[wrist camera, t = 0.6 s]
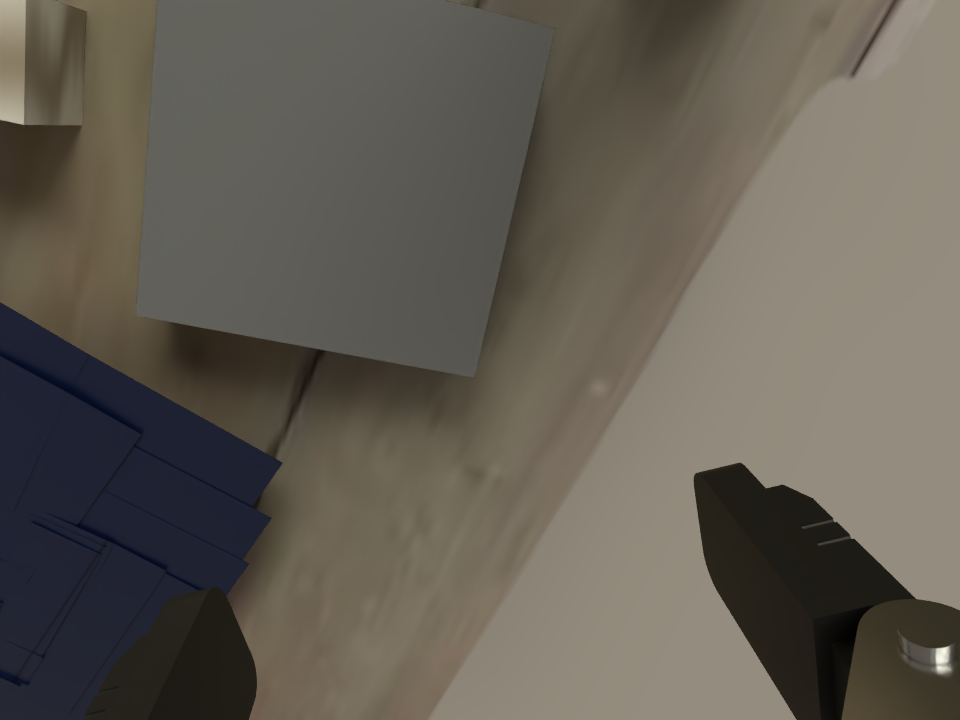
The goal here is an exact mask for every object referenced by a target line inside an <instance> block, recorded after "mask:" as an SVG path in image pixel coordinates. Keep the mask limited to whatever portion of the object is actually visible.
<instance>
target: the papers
mask: <svg viewBox="0 0 960 720" xmlns="http://www.w3.org/2000/svg"><path fill="white" fill-rule="evenodd" d="M281 465H282V462H280V461H278V460H277V459H275V458H273V457H271V456H270V455H268V454H266V453H264V452H262V451H261V450H259V449H257V448H255V447H253V446H252V445H250V444H248V443H246V442H244V441H243V440H241V439H239V438H237V437H235V436H234V435H232V434H230V433H228V432H227V431H225V430H223V429H221V428H219V427H218V426H216V425H214V424H212V423H210V422H209V421H207V420H205V419H203V418H201V417H200V416H198V415H196V414H194V413H193V412H191V411H189V410H187V409H185V408H184V407H182V406H180V405H178V404H176V403H175V402H173V401H171V400H169V399H167V398H166V397H164V396H162V395H160V394H159V393H157V392H155V391H153V390H151V389H150V388H148V387H146V386H144V385H142V384H141V383H139V382H137V381H135V380H133V379H132V378H130V377H128V376H126V375H125V374H123V373H121V372H119V371H117V370H116V369H114V368H112V367H110V366H108V365H107V364H105V363H103V362H101V361H99V360H98V359H96V358H94V357H92V356H91V355H89V354H87V353H85V352H84V351H82V350H80V349H79V348H77V347H75V346H74V345H72V344H70V343H68V342H67V341H65V340H63V339H62V338H60V337H58V336H57V335H55V334H53V333H51V332H50V331H48V330H46V329H45V328H43V327H41V326H40V325H38V324H36V323H34V322H33V321H31V320H29V319H28V318H26V317H24V316H23V315H21V314H19V313H18V312H16V311H14V310H12V309H11V308H9V307H7V306H6V305H4V304H2V303H1V302H0V720H84V719H85V715H84V714H85V712H86V711H87V709H88V707H89V705H90V704H91V702H92V700H93V699H94V697H95V696H98V694H99V693H98V690H99V688H100V687H101V685H102V683H103V682H104V680H105V678H106V677H107V675H108V673H109V671H110V670H111V668H112V666H113V665H114V663H115V662H116V661H117V660H118V659H119V658H120V657H121V656H122V655H123V654H124V653H125V652H126V651H127V650H128V649H129V648H130V647H131V646H132V645H133V644H134V643H135V642H136V641H137V640H138V639H139V638H140V637H141V636H144V635H148V633H149V631H150V629H151V628H152V626H153V624H154V622H155V620H156V619H157V617H158V615H159V613H160V611H161V610H162V608H163V606H164V604H165V603H166V601H167V600H168V599H169V598H171V597H174V596H178V595H183V594H187V593H191V592H195V591H199V590H204V589H208V588H212V587H218V588H220V589H221V590H222V591H223V592H224V593H225V595H227V594H228V593H229V591H230V590H231V588H232V587H233V586H234V584H235V583H236V581H237V580H238V579H239V577H240V576H241V574H242V573H243V572H244V570H245V569H246V567H247V566H248V564H249V563H247V562H245V561H243V558H244V557H245V556H246V554H247V553H248V551H249V550H250V548H251V547H252V545H253V544H254V543H255V541H256V540H257V538H258V537H259V535H260V534H261V532H262V531H263V530H264V528H265V527H266V525H267V524H268V522H269V521H270V520H271V517H269V516H267V515H265V514H263V513H261V512H259V511H257V510H255V509H253V508H251V507H252V506H253V505H254V503H255V502H256V500H257V499H258V498H259V496H260V495H261V493H262V492H263V490H264V489H265V488H266V486H267V485H268V483H269V482H270V480H271V479H272V478H273V476H274V475H275V473H276V472H277V470H278V469H279V468H280V466H281Z"/></svg>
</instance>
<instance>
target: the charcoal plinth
mask: <svg viewBox="0 0 960 720" xmlns="http://www.w3.org/2000/svg"><path fill="white" fill-rule="evenodd" d="M555 29H556V28H552V27H548V26H544V25H540V24H536V23H532V22H529V21H525V20H521V19H517V18H513V17H509V16H505V15H502V14H498V13H494V12H490V11H486V10H482V9H478V8H475V7H471V6H467V5H463V4H459V3H455V2H451V1H448V0H157V15H156V29H155V44H154V58H153V73H152V88H151V102H150V117H149V131H148V146H147V160H146V175H145V189H144V204H143V218H142V233H141V248H140V262H139V277H138V291H137V306H136V316H141V317H146V318H152V319H157V320H162V321H168V322H173V323H179V324H184V325H190V326H195V327H200V328H206V329H211V330H217V331H222V332H228V333H233V334H239V335H244V336H249V337H255V338H260V339H266V340H271V341H277V342H282V343H287V344H293V345H298V346H304V347H309V348H315V349H320V350H326V351H331V352H336V353H342V354H347V355H353V356H358V357H364V358H369V359H374V360H380V361H385V362H391V363H396V364H402V365H407V366H413V367H418V368H423V369H429V370H434V371H440V372H445V373H451V374H456V375H461V376H467V377H472V378H475V374H476V370H477V365H478V361H479V357H480V352H481V348H482V344H483V340H484V335H485V331H486V327H487V322H488V318H489V314H490V309H491V305H492V301H493V296H494V292H495V288H496V284H497V279H498V275H499V271H500V266H501V262H502V258H503V253H504V249H505V245H506V240H507V236H508V232H509V227H510V223H511V219H512V215H513V210H514V206H515V202H516V197H517V193H518V189H519V184H520V180H521V176H522V171H523V167H524V163H525V158H526V154H527V150H528V146H529V141H530V137H531V133H532V128H533V124H534V120H535V115H536V111H537V107H538V102H539V98H540V94H541V89H542V85H543V81H544V77H545V72H546V68H547V64H548V59H549V55H550V51H551V46H552V42H553V38H554V33H555Z"/></svg>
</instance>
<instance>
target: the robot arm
mask: <svg viewBox="0 0 960 720" xmlns="http://www.w3.org/2000/svg"><path fill="white" fill-rule="evenodd" d="M694 489H695V496H696V503H697V510H698V518H699V525H700V532H701V539H702V546H703V553H704V557H705V561H706V565H707V568H708V571H709V574H710V576H711V579H712V581H713V584H714V586H715V588H716V590H717V591H718V593H719V595H720V596H721V598H722V600H723V601H724V603H725V605H726V606H727V608H728V609H729V611H730V613H731V614H732V616H733V617H734V619H735V621H736V622H737V624H738V626H739V627H740V628H741V630H742V632H743V633H744V635H745V637H746V638H747V640H748V642H749V643H750V645H751V646H752V648H753V650H754V651H755V653H756V655H757V656H758V658H759V660H760V661H761V663H762V664H763V666H764V668H765V669H766V671H767V673H768V674H769V676H770V677H771V679H772V681H773V682H774V684H775V685H776V687H777V689H778V690H779V692H780V694H781V695H782V697H783V698H784V700H785V702H786V703H787V705H788V707H789V708H790V710H791V711H792V713H793V715H794V716H795V718H796V719H797V720H960V610H957V609H955V608H953V607H950V606H947V605H944V604H940V603H936V602H931V601H925V600H918V599H915V597H913V596H912V595H911V594H910V593H909V592H908V591H907V590H906V589H905V588H904V587H903V586H902V585H901V584H900V583H899V582H898V581H897V580H896V579H895V578H894V577H893V576H892V575H891V574H890V573H889V572H888V571H887V570H886V569H885V568H884V567H883V566H882V565H881V564H880V563H879V562H877V561H876V560H875V559H874V558H873V557H872V556H871V555H870V554H869V553H868V552H867V551H866V550H865V549H864V548H863V547H862V546H861V545H860V544H859V543H858V542H857V541H856V540H855V539H851V537H850V535H849V533H848V532H847V531H846V530H844V528H842V526H840V524H838V523H837V522H834V521H833V518H832V517H831V516H830V515H829V514H828V513H827V512H826V511H825V510H824V509H823V508H822V507H821V506H820V505H819V504H818V503H817V502H816V501H815V500H814V499H813V498H811V497H809V496H806V495H804V494H801V493H800V492H798V491H796V490H793V489H791V488H789V487H787V486H785V485H780V486H775V487H771V488H765V487H764V486H763V485H762V484H761V483H760V482H759V481H758V480H757V478H756V477H755V476H754V475H753V474H752V473H751V472H750V471H749V470H748V469H747V468H746V466H744V465H743V464H742V463H736V464H733V465H728V466H724V467H720V468H715V469H712V470H707V471H703V472H699V473H696V474H695V475H694ZM256 689H257V676H256V668H255V664H254V660H253V657H252V655H251V652H250V650H249V648H248V645H247V643H246V641H245V638H244V636H243V634H242V631H241V629H240V627H239V625H238V622H237V620H236V618H235V615H234V613H233V611H232V608H231V606H230V604H229V601H228V599H227V597H226V595H225V593H224V592H223V591H222V590H221V589H220V588H218V587H212V588H208V589H204V590H199V591H195V592H191V593H187V594H183V595H178V596H174V597H171V598H169V599H168V600H167V601H166V603H165V604H164V606H163V608H162V610H161V611H160V613H159V615H158V617H157V619H156V620H155V622H154V624H153V626H152V628H151V629H150V631H149V633H148V635H144V636H141V637H140V638H139V639H138V640H137V641H136V642H135V643H134V644H133V645H132V646H131V647H130V648H129V649H128V650H127V651H126V652H125V653H124V654H123V655H122V656H121V657H120V658H119V659H118V660H117V661H116V662H115V663H114V665H113V666H112V668H111V670H110V671H109V673H108V675H107V677H106V678H105V680H104V682H103V683H102V685H101V687H100V688H99V690H98V693H99V694H98V696H95V697H94V699H93V700H92V702H91V704H90V705H89V707H88V709H87V711H86V712H85V714H84V715H85V719H84V720H249V717H250V714H251V711H252V707H253V704H254V701H255V697H256Z"/></svg>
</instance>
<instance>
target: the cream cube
mask: <svg viewBox="0 0 960 720" xmlns="http://www.w3.org/2000/svg"><path fill="white" fill-rule="evenodd" d="M85 35H86V11H84V10H81V9H78V8H75V7H72V6H69V5H66V4H64V3H61V2H58V1H55V0H0V120H4V121H8V122H13V123H18V124H22V125H82V110H83V85H84V60H85Z"/></svg>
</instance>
